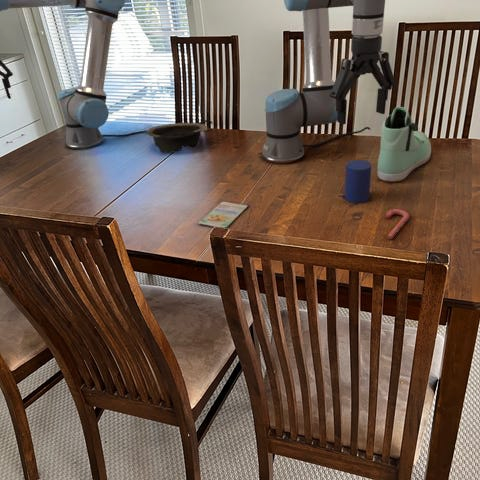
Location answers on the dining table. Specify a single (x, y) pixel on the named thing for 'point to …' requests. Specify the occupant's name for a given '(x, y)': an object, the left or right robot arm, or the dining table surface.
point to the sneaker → (401, 146)
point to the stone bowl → (176, 136)
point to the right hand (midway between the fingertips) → (361, 117)
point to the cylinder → (357, 181)
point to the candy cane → (399, 221)
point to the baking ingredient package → (223, 214)
